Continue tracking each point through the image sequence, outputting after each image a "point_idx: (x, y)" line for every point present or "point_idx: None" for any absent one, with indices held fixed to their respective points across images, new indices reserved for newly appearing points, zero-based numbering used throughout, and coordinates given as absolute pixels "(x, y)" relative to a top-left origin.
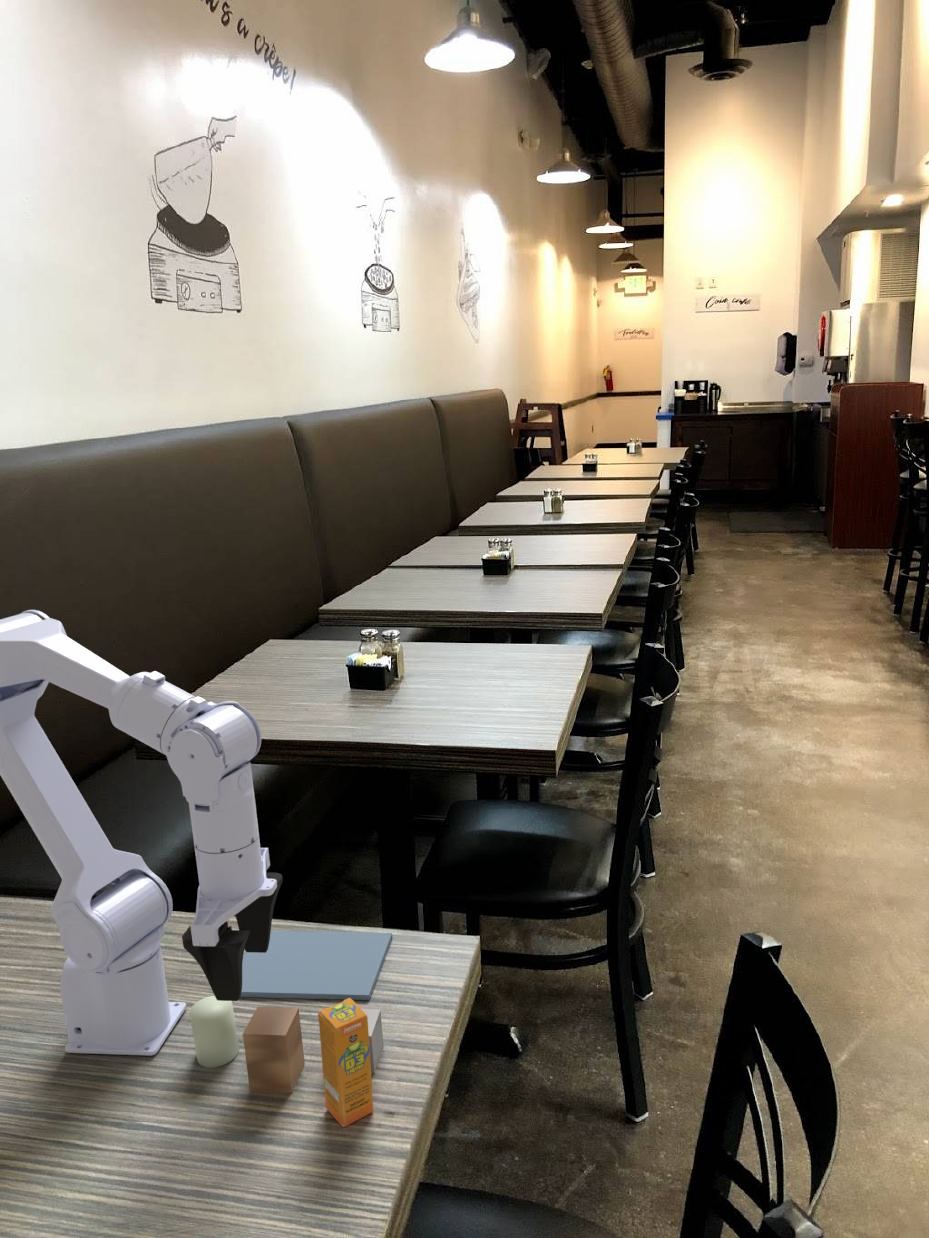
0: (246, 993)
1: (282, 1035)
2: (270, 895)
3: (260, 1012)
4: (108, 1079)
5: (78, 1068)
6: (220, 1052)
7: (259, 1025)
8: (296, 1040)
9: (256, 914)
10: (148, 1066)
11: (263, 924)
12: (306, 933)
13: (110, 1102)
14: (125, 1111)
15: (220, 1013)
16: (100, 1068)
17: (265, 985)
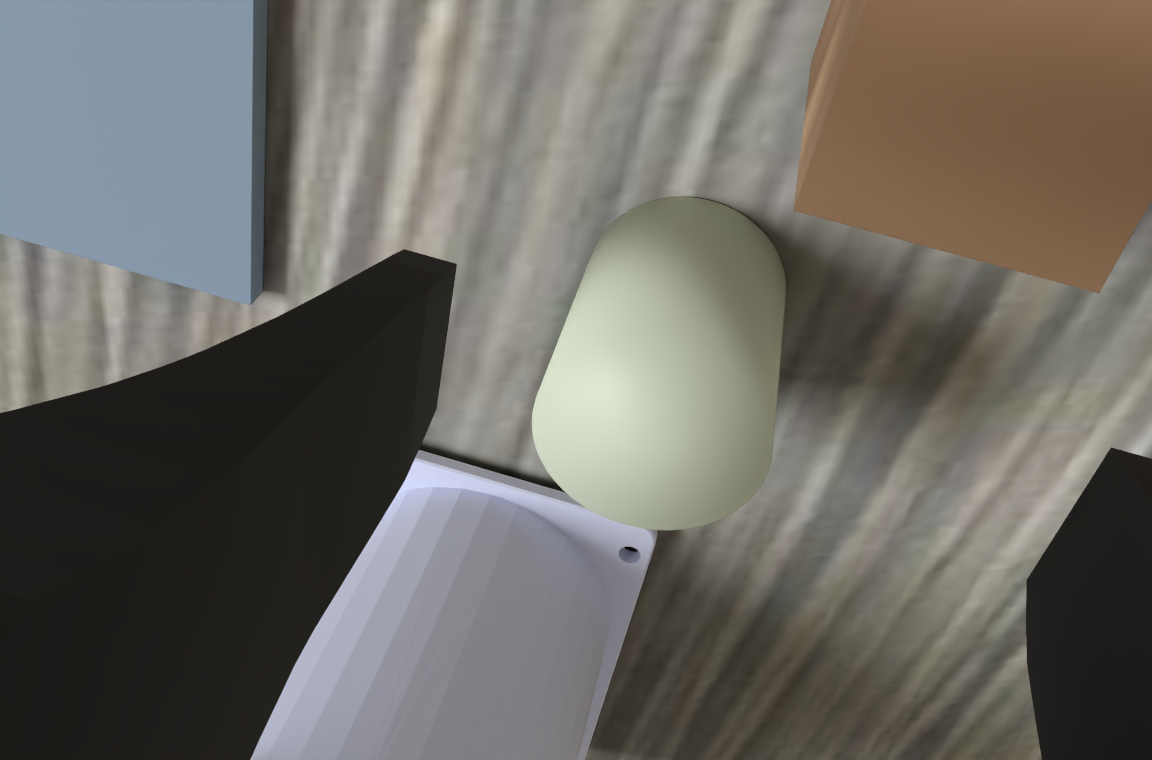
0: (256, 192)
1: None
2: (128, 598)
3: (873, 187)
4: (757, 639)
5: (669, 714)
6: (777, 300)
7: (1040, 187)
8: None
9: (276, 549)
10: (712, 530)
11: (335, 418)
12: None
13: (898, 629)
14: (973, 586)
15: (713, 393)
16: (685, 662)
17: (194, 103)
